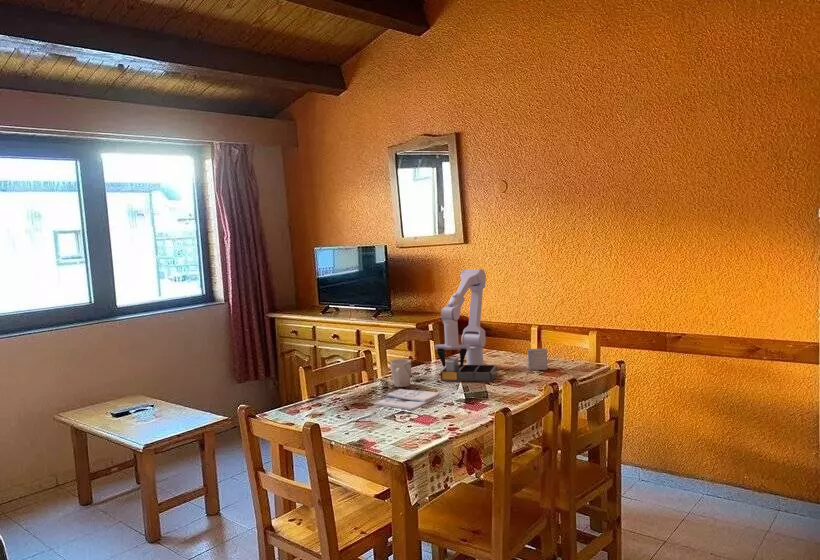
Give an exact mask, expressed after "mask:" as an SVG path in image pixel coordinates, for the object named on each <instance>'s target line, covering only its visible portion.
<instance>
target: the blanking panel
mask: <svg viewBox="0 0 820 560" xmlns="http://www.w3.org/2000/svg"><path fill="white" fill-rule="evenodd" d="M445 363H446V365H445V367H446V372H457V371H458V370H459V365H460V364H459V357H458V356H450V357H449V358H448V359H447V360H445Z"/></svg>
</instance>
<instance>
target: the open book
mask: <svg viewBox="0 0 820 560" xmlns="http://www.w3.org/2000/svg"><path fill="white" fill-rule="evenodd" d="M440 394H441V393H440V392H435V391H427V390H426V391H425V390H415V389H403V388H399V389H397V390H393V391H391V392H389V393H386V394H385V397H384V398H383V399H381V400H378V401H376V402H374V403H373V405H374V406H382V407H387V408H388V407H389V408H395V409H403V410H407V411H415V410H416V409H419V408H420V407H423V406H424V405H427V404H428V403H431V402H432V401H435V400H438V399H439V398H441V397H442V395H440Z"/></svg>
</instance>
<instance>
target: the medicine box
mask: <svg viewBox="0 0 820 560" xmlns="http://www.w3.org/2000/svg"><path fill="white" fill-rule="evenodd" d="M527 361H528V362H527V366H528V367H527V368H528V369H529V370H528V371H547V370H549V369H548V351H547V348H528V349H527Z"/></svg>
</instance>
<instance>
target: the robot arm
mask: <svg viewBox="0 0 820 560" xmlns="http://www.w3.org/2000/svg"><path fill="white" fill-rule="evenodd" d="M459 276H460V283H459V285H458V287H457V290H456V292H454V293H452V295H451V297H450V299H449V301H448V302H447V304H446V306H444V307H442V308H441V311H440V318H441V321H442V324H443V327H444V328H443V330H444V343H443V344H441V343H439V344H434V350H435V351H436V353H437V355H438V357H439V359H440V361H441V365H442V367H443V368H445V367H446V350H447V351H448V350H450V351H451V350H453V351H454V350H455V351H456V350H457V351H459V352H458V353H459V361H460V362H459V363H460V364H459V365H460V366H461V367H463V365H464V361H465V358H466V365H487V364H486V362H484V350H483V348H484V347H485V345H486V343H487V337H486V330H485V329H484V328H483V327H481V317H482V316H481V315H482V306H483V294H484V289H485V288H486V279H487V275H486V272H485V270H484V269H482V268H477V269H474V268H472V269H471V268H470V269H468V268H467V269H466V268H464V269H462V270H461V272H460V275H459ZM469 289H470V292H471V293H470V302H469V303H470V305H469V317H468V325H467V326H466V327H464V329H463V330H462V335H461V340H460V341H461V343H459V326H458V325H459V324H458V320H459V319H460V317H461V310H462V309H461V308H462V306H463V304H464V302H465V295H466V294H467V292H468V290H469Z"/></svg>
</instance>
